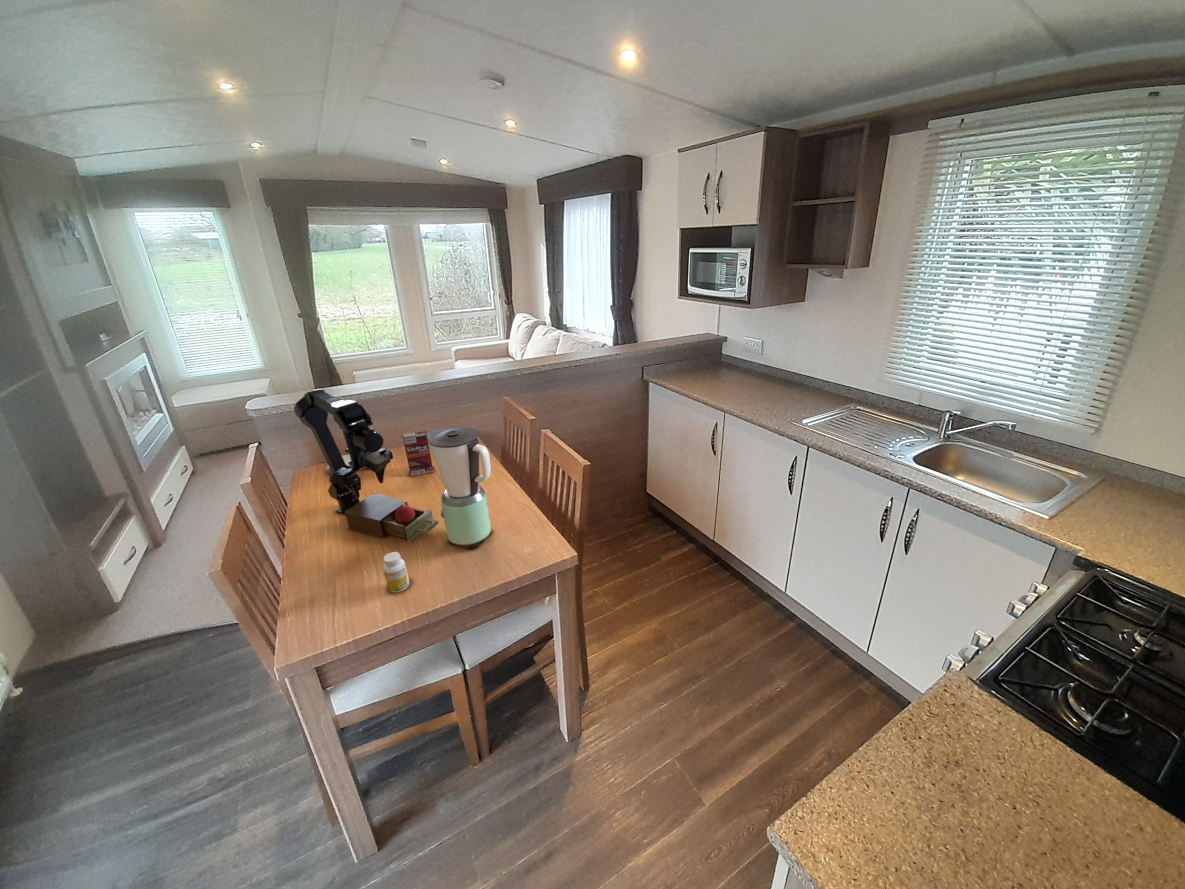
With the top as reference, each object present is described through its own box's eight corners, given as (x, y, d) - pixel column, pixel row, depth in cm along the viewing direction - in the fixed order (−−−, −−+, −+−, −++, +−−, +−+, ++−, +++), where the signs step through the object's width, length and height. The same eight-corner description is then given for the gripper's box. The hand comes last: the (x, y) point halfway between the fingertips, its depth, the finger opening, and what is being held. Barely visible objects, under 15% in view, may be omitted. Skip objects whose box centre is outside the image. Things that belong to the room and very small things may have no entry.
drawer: (444, 525, 151) (442, 512, 149) (421, 544, 142) (418, 531, 140) (401, 514, 157) (398, 502, 155) (376, 532, 148) (373, 519, 146)
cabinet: (410, 517, 157) (406, 501, 154) (383, 538, 147) (379, 520, 144) (377, 509, 162) (373, 493, 159) (349, 528, 152) (344, 511, 149)
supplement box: (410, 476, 182) (402, 439, 176) (409, 471, 186) (401, 434, 180) (434, 471, 185) (426, 434, 179) (432, 466, 189) (425, 430, 183)
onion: (416, 528, 148) (411, 506, 144) (397, 532, 146) (391, 510, 143) (417, 518, 153) (412, 497, 149) (398, 522, 151) (393, 500, 148)
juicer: (433, 544, 143) (411, 438, 128) (460, 520, 154) (443, 420, 139) (487, 557, 137) (470, 448, 122) (511, 531, 148) (498, 428, 133)
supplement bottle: (391, 579, 129) (384, 550, 125) (412, 578, 130) (405, 549, 125) (385, 593, 124) (377, 564, 120) (406, 592, 125) (399, 562, 121)
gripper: (351, 461, 130) (365, 509, 137) (401, 435, 146) (411, 480, 152) (323, 456, 135) (337, 503, 141) (373, 431, 150) (385, 474, 157)
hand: (370, 489), depth 148 cm, fingers open, 9 cm apart
